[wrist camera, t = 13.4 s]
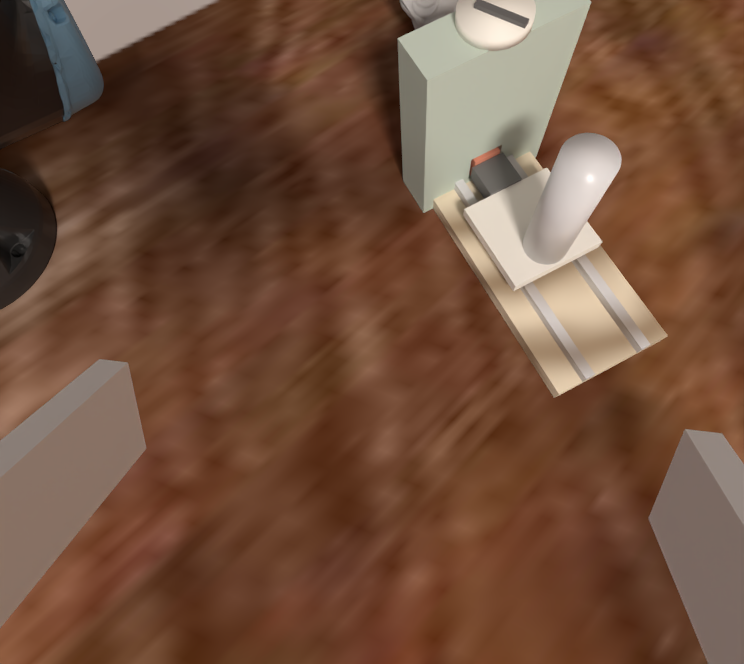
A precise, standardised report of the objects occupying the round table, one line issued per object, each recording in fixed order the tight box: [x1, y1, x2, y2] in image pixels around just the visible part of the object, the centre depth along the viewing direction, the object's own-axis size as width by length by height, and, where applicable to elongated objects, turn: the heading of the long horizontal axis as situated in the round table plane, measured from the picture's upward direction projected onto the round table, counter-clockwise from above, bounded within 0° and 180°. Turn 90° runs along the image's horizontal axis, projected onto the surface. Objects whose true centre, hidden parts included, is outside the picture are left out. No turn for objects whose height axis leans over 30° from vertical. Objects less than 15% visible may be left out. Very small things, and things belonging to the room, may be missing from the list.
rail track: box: [433, 152, 668, 398], centre depth 44 cm, size 20×10×2 cm, turn 27°
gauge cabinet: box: [398, 0, 591, 213], centre depth 40 cm, size 5×12×17 cm, turn 117°
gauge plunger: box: [469, 147, 500, 176], centre depth 45 cm, size 4×2×2 cm, turn 27°
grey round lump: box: [400, 0, 458, 30], centre depth 51 cm, size 6×7×7 cm
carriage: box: [463, 133, 621, 291], centre depth 38 cm, size 11×8×12 cm
